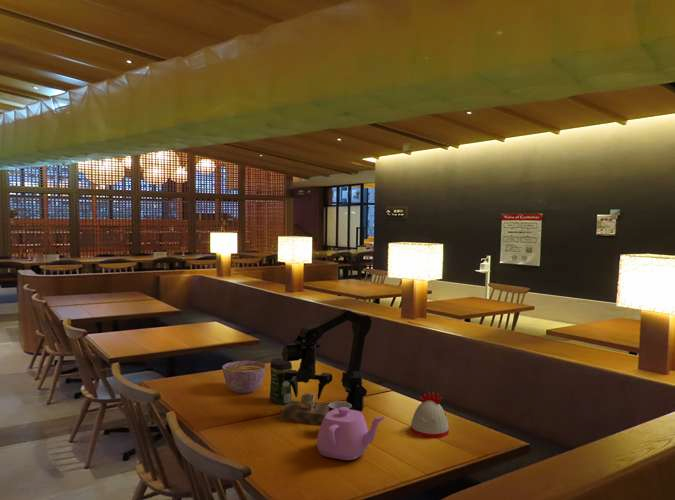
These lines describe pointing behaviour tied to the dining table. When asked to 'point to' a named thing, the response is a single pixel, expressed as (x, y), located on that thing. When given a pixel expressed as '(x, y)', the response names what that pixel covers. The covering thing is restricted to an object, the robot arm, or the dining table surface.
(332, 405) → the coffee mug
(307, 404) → the wooden post
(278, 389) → the coffee jar
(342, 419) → the teapot
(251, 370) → the bowl of food
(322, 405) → the grey block with hole
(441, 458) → the dining table surface
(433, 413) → the kitchen timer
